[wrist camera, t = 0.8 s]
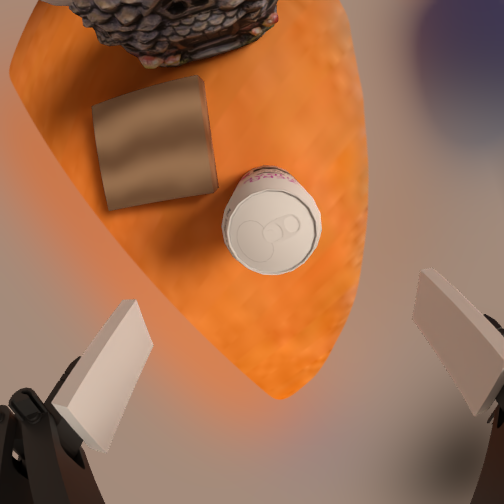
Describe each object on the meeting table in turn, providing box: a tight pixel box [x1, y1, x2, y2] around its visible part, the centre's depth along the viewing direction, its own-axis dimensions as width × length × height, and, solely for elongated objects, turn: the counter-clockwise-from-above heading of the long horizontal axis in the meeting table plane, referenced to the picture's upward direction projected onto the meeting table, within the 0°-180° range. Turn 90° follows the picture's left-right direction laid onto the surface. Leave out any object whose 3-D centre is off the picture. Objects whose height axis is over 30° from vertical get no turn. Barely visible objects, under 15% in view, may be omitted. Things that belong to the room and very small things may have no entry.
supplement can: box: [221, 165, 322, 275], centre depth 29 cm, size 8×8×15 cm
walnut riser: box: [92, 75, 219, 211], centre depth 31 cm, size 14×14×4 cm
